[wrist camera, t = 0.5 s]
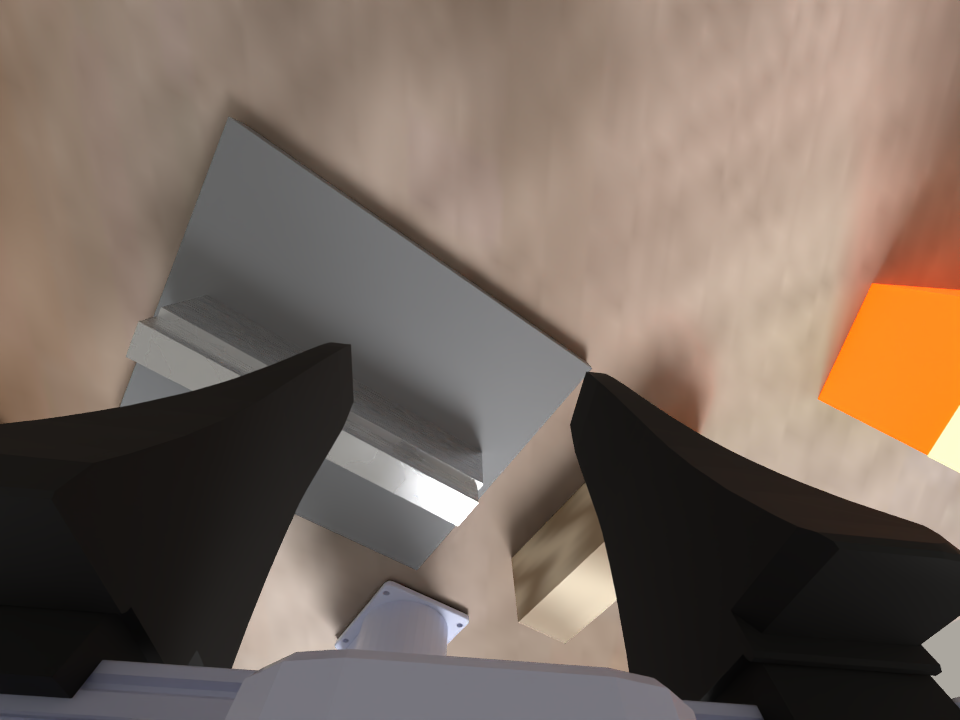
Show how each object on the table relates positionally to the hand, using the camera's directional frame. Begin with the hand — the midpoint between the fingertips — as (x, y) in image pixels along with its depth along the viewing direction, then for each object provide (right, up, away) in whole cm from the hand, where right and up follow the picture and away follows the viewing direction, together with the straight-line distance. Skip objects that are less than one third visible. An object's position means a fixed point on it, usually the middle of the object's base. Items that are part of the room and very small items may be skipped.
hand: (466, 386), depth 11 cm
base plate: (-8, -1, +11) cm, 14 cm away
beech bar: (+9, -10, +15) cm, 20 cm away
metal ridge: (-8, -1, +11) cm, 14 cm away
